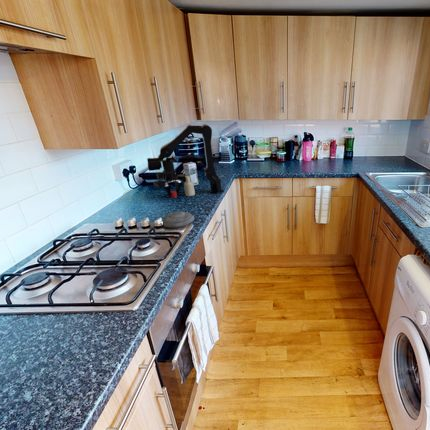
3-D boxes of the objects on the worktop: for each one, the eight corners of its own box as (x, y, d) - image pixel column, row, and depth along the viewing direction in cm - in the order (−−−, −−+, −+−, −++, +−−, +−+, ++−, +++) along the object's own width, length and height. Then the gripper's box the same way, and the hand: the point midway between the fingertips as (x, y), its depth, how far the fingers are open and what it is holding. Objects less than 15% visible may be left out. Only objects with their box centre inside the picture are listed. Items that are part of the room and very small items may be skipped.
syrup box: (191, 186, 186) (188, 164, 181) (186, 184, 190) (182, 163, 184) (199, 184, 191) (195, 162, 185) (193, 182, 194) (190, 161, 188)
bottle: (197, 194, 173) (194, 175, 168) (189, 196, 169) (186, 178, 164) (191, 192, 176) (188, 174, 171) (183, 194, 172) (180, 176, 167)
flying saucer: (156, 230, 128) (154, 219, 126) (167, 217, 142) (165, 207, 140) (191, 229, 129) (189, 218, 127) (197, 215, 143) (196, 205, 141)
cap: (175, 195, 171) (174, 190, 170) (178, 196, 169) (177, 191, 168) (169, 197, 169) (168, 191, 167) (172, 198, 167) (171, 193, 165)
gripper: (175, 163, 173) (179, 188, 180) (145, 170, 160) (151, 196, 166) (186, 166, 167) (190, 191, 173) (156, 173, 153) (162, 200, 160)
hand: (173, 194), depth 168 cm, fingers open, 5 cm apart
